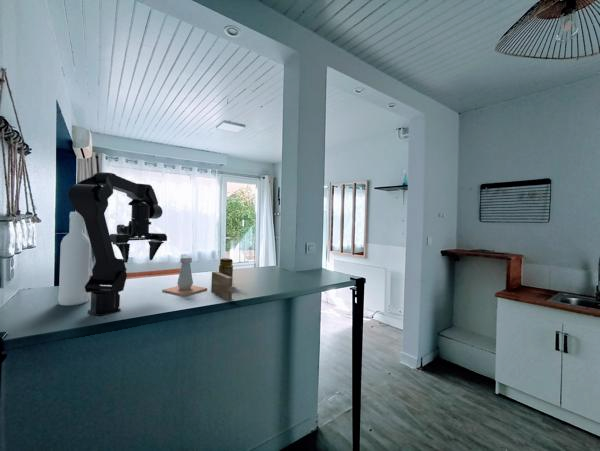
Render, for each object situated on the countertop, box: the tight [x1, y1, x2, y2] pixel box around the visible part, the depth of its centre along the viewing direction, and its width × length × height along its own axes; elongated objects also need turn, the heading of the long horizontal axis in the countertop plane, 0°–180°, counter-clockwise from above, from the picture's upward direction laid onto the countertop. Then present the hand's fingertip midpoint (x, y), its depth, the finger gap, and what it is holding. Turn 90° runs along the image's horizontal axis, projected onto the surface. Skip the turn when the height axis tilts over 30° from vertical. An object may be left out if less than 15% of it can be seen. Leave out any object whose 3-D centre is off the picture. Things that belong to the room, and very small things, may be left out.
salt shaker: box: [177, 256, 194, 290], centre depth 114 cm, size 6×6×13 cm
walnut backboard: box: [210, 271, 234, 300], centre depth 111 cm, size 2×14×8 cm, turn 41°
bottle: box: [57, 211, 91, 307], centre depth 94 cm, size 8×8×30 cm
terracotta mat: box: [161, 284, 208, 297], centre depth 115 cm, size 12×12×1 cm
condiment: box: [218, 257, 234, 289], centre depth 126 cm, size 7×8×12 cm
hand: (138, 261), depth 103 cm, fingers open, 9 cm apart
